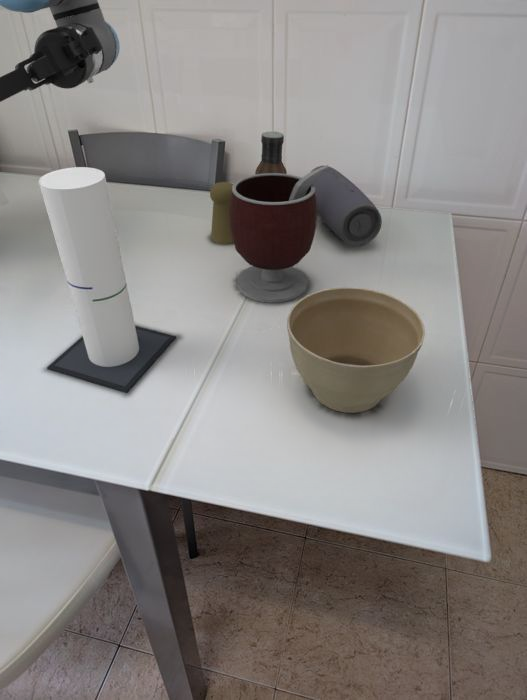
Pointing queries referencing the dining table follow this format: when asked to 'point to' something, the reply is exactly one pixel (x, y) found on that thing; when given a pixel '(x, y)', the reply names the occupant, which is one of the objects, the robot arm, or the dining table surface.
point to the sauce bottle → (271, 154)
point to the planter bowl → (353, 345)
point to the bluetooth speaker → (346, 208)
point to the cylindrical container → (92, 262)
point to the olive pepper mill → (221, 213)
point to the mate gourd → (273, 232)
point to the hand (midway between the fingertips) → (4, 84)
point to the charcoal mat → (115, 376)
